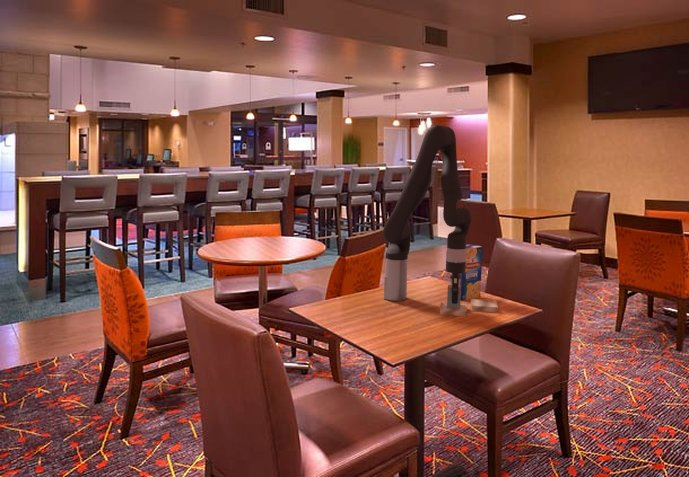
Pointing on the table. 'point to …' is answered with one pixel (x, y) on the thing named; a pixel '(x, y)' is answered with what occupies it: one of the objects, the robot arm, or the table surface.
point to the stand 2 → (484, 305)
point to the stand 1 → (453, 310)
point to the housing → (449, 298)
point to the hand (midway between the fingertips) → (454, 300)
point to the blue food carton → (471, 273)
